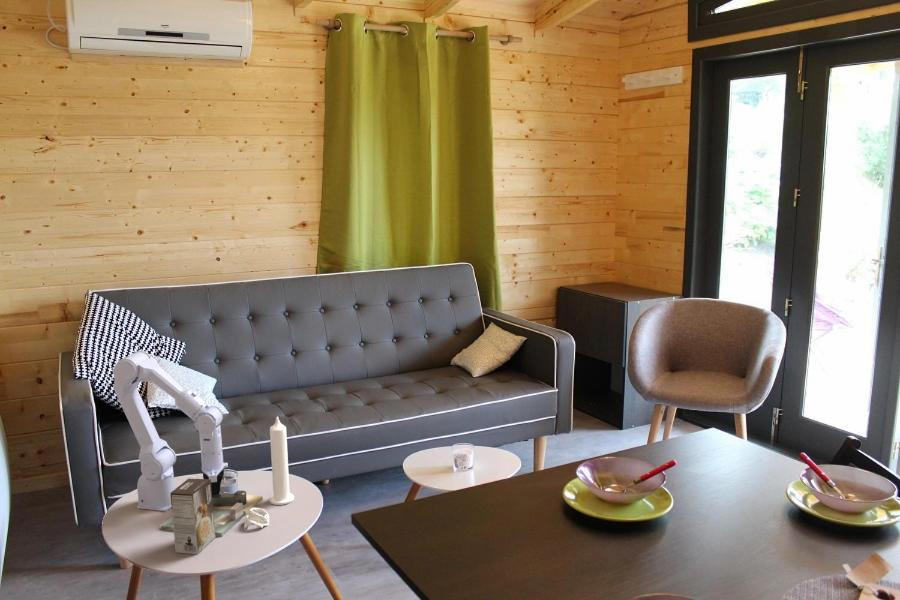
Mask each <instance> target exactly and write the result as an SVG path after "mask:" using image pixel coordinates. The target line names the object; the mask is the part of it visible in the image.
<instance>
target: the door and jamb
mask: <svg viewBox="0 0 900 600" xmlns="http://www.w3.org/2000/svg"><path fill="white" fill-rule="evenodd" d="M246 499H247V503H246V504H244V505H243V503H236V504H235V505H223V506H213V514H214V526H215V537H223V536H224V535H225V534H226V533H228V531H230V530H231V529H232V528H233V527H234V526H235V525H236V524H237V523H239V522H240V521H241V520H242V519H243V518H245V517H246V515H248V512H249V510H250V509H251V508H256V506H257V505H259V503H261V502H262V501H263V496H262V495H261V496H260V495H253V494H246ZM159 527H160V530H162V531H163V530H164V531H172V532H174V527H173V517H172V516H171V517H170V518H169V519H167V520H166V521H164V523H162V524H161V525H160V526H159Z"/></svg>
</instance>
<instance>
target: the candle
mask: <svg viewBox="0 0 900 600" xmlns="http://www.w3.org/2000/svg"><path fill="white" fill-rule="evenodd" d="M287 436H288V435H287V427H286V425H284V424H283V423H282V422H281V421H280V419H279V416H276V417H275V421H274V424H273V425H272V426H270V427H269V438H270V440H269V441H270V455H271V458H270V459H271V474H272V475H271V476H272V477H271V479H272V493H273V494H272V495H271V496H270V497H268V502H269V504H271V505H274V506H285V505H288V504H291V503H292V502H293V501H294V500H295V495H294V494H293V493H291V492H290V475H289V473H290V472H289V459H288V457H289V455H288V440H287V438H288V437H287Z"/></svg>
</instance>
